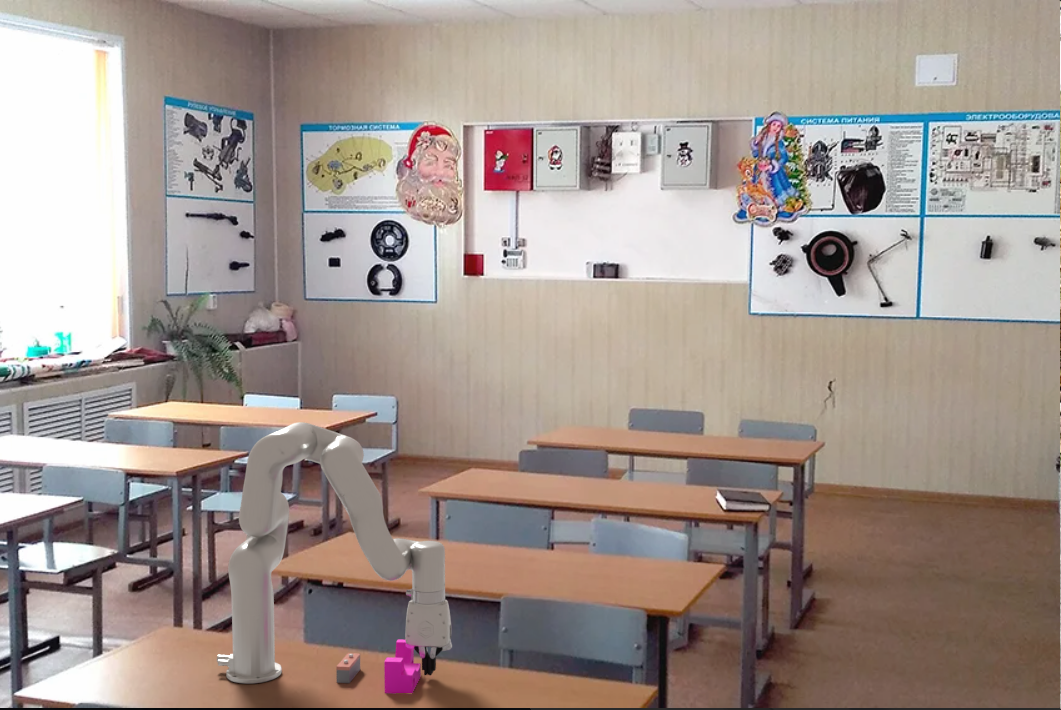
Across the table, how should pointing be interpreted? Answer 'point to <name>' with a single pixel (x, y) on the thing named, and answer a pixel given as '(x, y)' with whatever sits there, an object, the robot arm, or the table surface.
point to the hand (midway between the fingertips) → (428, 673)
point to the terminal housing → (348, 668)
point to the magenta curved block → (401, 670)
